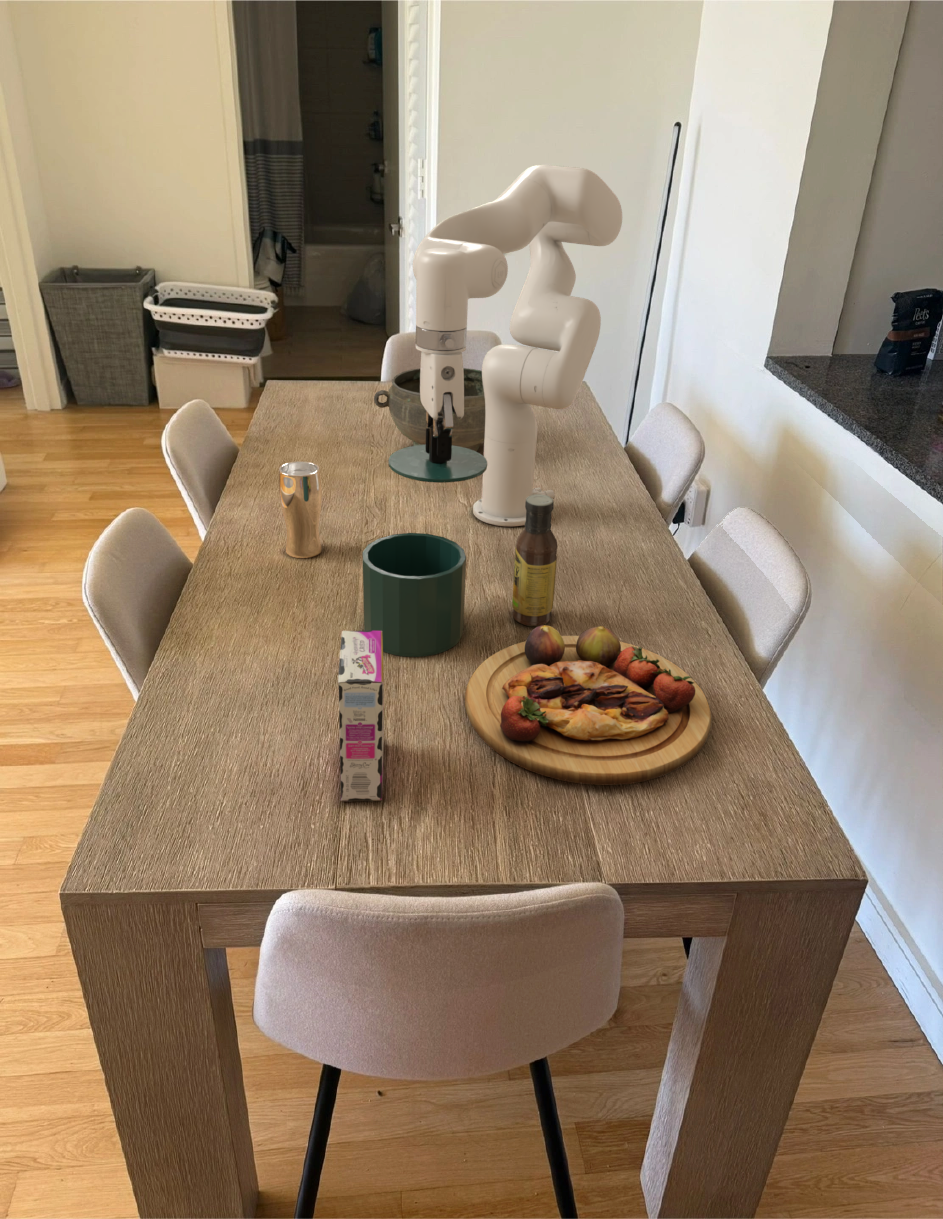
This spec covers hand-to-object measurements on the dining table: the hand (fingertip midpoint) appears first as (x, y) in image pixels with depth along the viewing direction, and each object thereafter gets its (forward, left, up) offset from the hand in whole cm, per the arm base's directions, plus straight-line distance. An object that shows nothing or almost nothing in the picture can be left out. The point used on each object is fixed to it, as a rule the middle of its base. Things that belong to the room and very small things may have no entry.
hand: (438, 455), depth 149 cm
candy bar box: (+31, +44, -20) cm, 57 cm away
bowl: (-28, -52, -20) cm, 63 cm away
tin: (+12, +17, -20) cm, 29 cm away
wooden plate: (0, +45, -20) cm, 49 cm away
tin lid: (0, 0, -1) cm, 1 cm away
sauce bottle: (-6, +21, -20) cm, 30 cm away
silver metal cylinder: (+18, -15, -20) cm, 31 cm away
